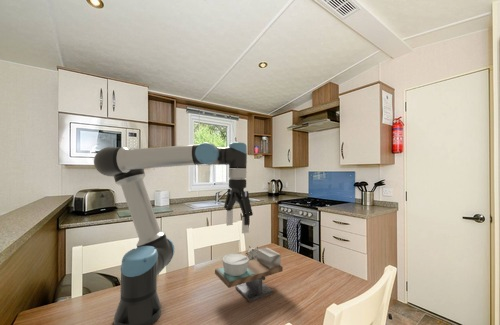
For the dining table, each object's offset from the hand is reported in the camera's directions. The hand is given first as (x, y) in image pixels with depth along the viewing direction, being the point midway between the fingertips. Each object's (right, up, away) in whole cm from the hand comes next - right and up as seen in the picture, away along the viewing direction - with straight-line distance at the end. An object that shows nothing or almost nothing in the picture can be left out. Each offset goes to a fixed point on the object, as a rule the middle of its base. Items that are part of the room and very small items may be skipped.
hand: (236, 228), depth 91 cm
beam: (+5, -21, +3) cm, 22 cm away
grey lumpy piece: (+7, -30, +35) cm, 47 cm away
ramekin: (-1, -18, -1) cm, 18 cm away
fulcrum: (+7, -29, +4) cm, 30 cm away
